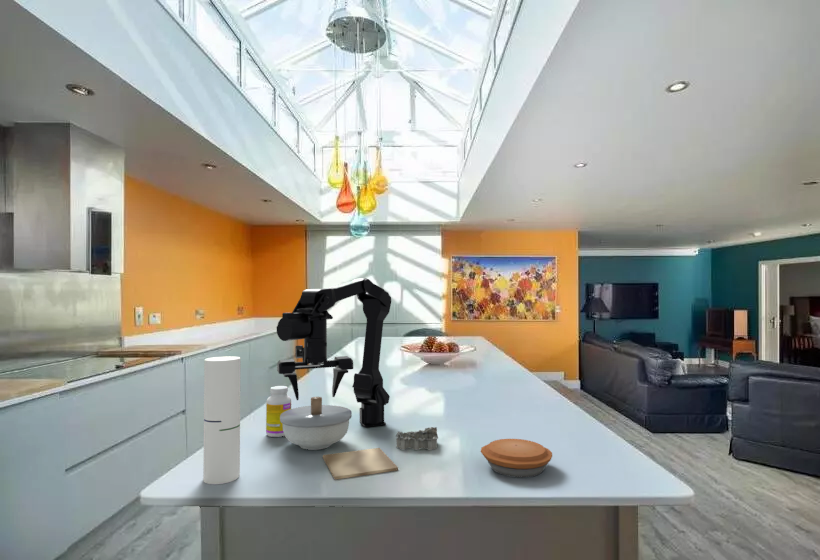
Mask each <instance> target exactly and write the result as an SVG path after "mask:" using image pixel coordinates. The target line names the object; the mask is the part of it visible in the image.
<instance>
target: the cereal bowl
mask: <svg viewBox="0 0 820 560" xmlns="http://www.w3.org/2000/svg"><path fill="white" fill-rule="evenodd" d="M349 425H350V419H349V420H348V421H346V422H343V423H340V424H337V425H332V426H325V427H314V428H303V427H293V426H288V425H285V424H283V432H284V435H285V436H284V437H285V438H286V440H288V442H290V443H291V444H294V445H296V446H298V447H300V448H301V449H303V450H307V449H308V450H307V451H309V450H310V451H317V450H324V449H328V448H329V447H331V446H332V445H333V444H336V443H338V442H339V441H341V440H342V439H343V438H344V437H345V436H346V435H347V433H348V430H349Z"/></svg>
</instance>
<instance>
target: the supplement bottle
mask: <svg viewBox="0 0 820 560" xmlns="http://www.w3.org/2000/svg"><path fill="white" fill-rule="evenodd" d="M269 389H270V390H269V393H270V396H268V398H267V399H266V411H265V412H266V414H265V415H266V417H265V418H266V419H265V421H266V424H265V429H266V430H265V432H266V433H265V434H266V435H267V437H270V438H271V437H272V438H282V436H283V437H285V435H284V432H283V423H281V422H280V415H281V414H282V413H283V412H285V411H287V410H290V409H292V398H291V396H289V395H288V392H289V390H288V389H289V387H288V386H286V385H276V386H271V387H270V388H269Z"/></svg>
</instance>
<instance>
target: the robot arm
mask: <svg viewBox="0 0 820 560" xmlns="http://www.w3.org/2000/svg"><path fill="white" fill-rule="evenodd" d="M354 296H356V298H357V299H358V301H360V303H361V304H362V312H363V314H364V316H365V319H366V323H365V334H364V336H365V337H364V344H363V346H364V347H363V353H362V354H363V356H362V365H361V369H360V370H359V371H358V373H354V375H353V384H352V386H351V387H352V388H353V394H354V395H355V399H356V402H357V403H360V404H361V406H360V407H359V423H360V424H361V425H362V426H363V427H364V428H371V427H379V426H381V427H382V426H387V423H386V421H385V406H386V405H387V404H389V403H390V402H389V401H390V398H391V397H390V395H389V393H388V392H387V391H386V389H385V388H384V378H383V376H382V374H381V371H380V361H381V360H380V359H381V348H382V338H383V329H384V327H383V326H384V321H385V320H386V318H387V317H388V315H389V314H390V309H391V305H392V297H391V295H390V294H389V292H388V291H386V290H385V289H384V288H383V287H381V286H379V285H377V284H375V283H373V282H372V281H371V280H370V279H368V278H355V279H353V280H351V281H350V280H349V281H347V282H343V283H340V284H337V285H334V286H330V287H327V288H310V289H309V288H308V289H304V290H302V292H301V295H300V298H299V299H298V301H297V303H296V305H295V307H294V308H293V309H292V312H283V313H282V314H281V315H282V317H281V318H280V319H279V321H278V322H277V326H276V333H277V336H278V338H279V340H281V341H283V342H287V341H288V342H289V341H296V340H303V343H304V345H295V348H294V349H295V353H294V354H295V357H294V358H295V359H302V361H295V360H294V359H292V358H290V359H279V360H278V361H277V367H276V368H277V369H276V370H277V373H278V375H283V377H284V378H288V380H289V382H290V384H291V386H292V389H293V393H294V396H295V399H296V401H299V398H300V397H299V396H300V395H299V385H298V374H297V373H296V370H308V369H310V370H311V369H323V368H324V369H325V368H332V371H333V372H332V373H333V374H332V375H333V378H332V387H331V389H332V390H331V395H332V398H335V396H336V394H337V391H338V389H339V386H340V383H341V381H342V380H343V378H344V376H345V374H348V373H349V370H354V360H353V359H352V358H351V357H349V356H348V355H345V356H343V355H342V356H334V359H331V360H330V359H329V360H328V358H327V357H328V354H327V353H328V352H327V351H328V348H327V347H328V341H327V340H328V338H327V337H328V336H327V335H328V334H327V333H328V329H327V327H328V324H327V323H328V322H327V321H328V320H332V319H334V317H333V315H332V314H330V313H329V312H328V310H329V309H331V308H333V307H334V306H335V305H336V303H338V302H339V301H342V300H345V299H348V298H351V297H354Z"/></svg>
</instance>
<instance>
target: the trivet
mask: <svg viewBox="0 0 820 560" xmlns="http://www.w3.org/2000/svg"><path fill="white" fill-rule="evenodd" d="M322 460H323V461H324V463H325V465H326V466H327V468H328V470H329V472H330V474H331V476H332V477H333V479H334V480H342V479H348V478H354V477H360V476H361V477H363V476H369V475H375V474H383V473H389V472H397V471H399V466H398V465H397V464H396V463H395V462H394V461H393V460H392V459H391V458H390V456H388V454H386V453H385V452H384V451H383V449H381V448H380V447H376V448H367V449H359V450H351V451H343V452H337V453H329V454H323V455H322Z"/></svg>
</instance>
